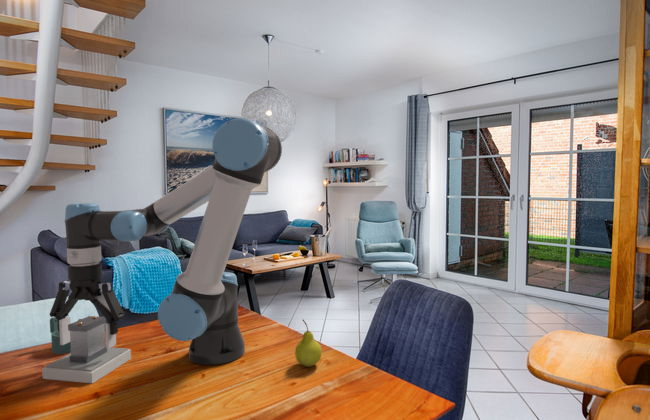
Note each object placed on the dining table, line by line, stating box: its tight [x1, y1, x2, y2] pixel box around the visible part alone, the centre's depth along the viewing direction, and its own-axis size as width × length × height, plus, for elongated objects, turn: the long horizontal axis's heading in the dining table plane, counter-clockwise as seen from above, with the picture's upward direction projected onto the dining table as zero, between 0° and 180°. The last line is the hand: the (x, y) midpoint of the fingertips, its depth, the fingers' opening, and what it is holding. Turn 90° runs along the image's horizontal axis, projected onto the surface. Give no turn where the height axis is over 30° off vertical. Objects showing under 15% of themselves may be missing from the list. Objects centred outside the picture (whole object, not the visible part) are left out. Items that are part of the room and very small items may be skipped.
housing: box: [68, 315, 107, 363], centre depth 103 cm, size 7×5×10 cm
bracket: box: [49, 317, 82, 355], centre depth 117 cm, size 9×9×9 cm
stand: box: [41, 346, 132, 384], centre depth 103 cm, size 14×14×3 cm
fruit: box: [294, 319, 323, 368], centre depth 104 cm, size 7×7×12 cm
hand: (88, 344), depth 103 cm, fingers open, 13 cm apart
